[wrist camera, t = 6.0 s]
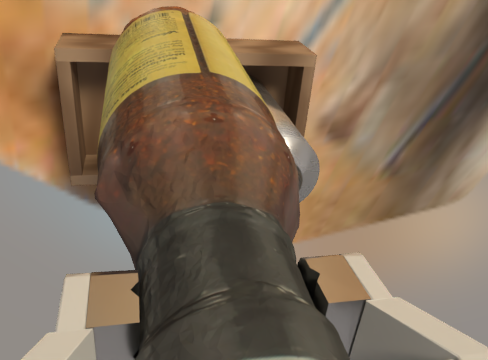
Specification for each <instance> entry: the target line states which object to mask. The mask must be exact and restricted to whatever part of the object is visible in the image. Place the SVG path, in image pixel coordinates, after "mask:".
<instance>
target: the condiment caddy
mask: <svg viewBox="0 0 488 360" xmlns="http://www.w3.org/2000/svg"><path fill="white" fill-rule="evenodd" d="M120 36H121V35H103V34H73V33H62V35H61V37H60V39H59V40H58V42H57V44H56V46H55V47H54V50H55V58H56V67H57V75H58V83H59V91H60V99H61V107H62V115H63V123H64V131H65V139H66V147H67V155H68V163H69V171H70V179H71V186H77V185H97V181H98V168H97V150H98V141H99V134H100V126H101V118H102V111H103V104H104V97H105V88H106V83H107V76H108V67H109V62H110V57H111V53H112V50H113V47H114V46H115V44H116V42H117V40H118V39H119V37H120ZM226 40H227V42H228V43H229V45H230V46H231V48H232V50H233V51H234V53H235V54H236V56H237V57H238V59H239V61H240V63H241V64H242V66H243V68H244V69H245V71H246V73H247V74H248V76H252V77H254V78H256V79H257V80H259V81H260V82H261V83H262V84H263V85H264V86H265V88H266V89H267V90H268V92H269V93H270V94H271V96H272V97H273V98H274V99H275V101H276V102H277V103H278V105H279V106H280V107H281V109H282V110H283V111H284V112H285V114H286V115H287V116H288V118H289V119H290V120H291V122H292V123H293V124H294V125H295V127H296V128H297V129H298V131H299V132H300V133H301V135H302V136H303V137H304V133H305V127H306V121H307V114H308V108H309V102H310V95H311V89H312V83H313V76H314V70H315V64H316V57H317V55H316V54H315V53H313V52H312V51H311V50H309V49H308V48H307V47H306V46H304V45H303V44H302V43H300V42H299V41H278V40H249V39H226Z"/></svg>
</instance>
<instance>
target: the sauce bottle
mask: <svg viewBox="0 0 488 360" xmlns="http://www.w3.org/2000/svg"><path fill="white" fill-rule="evenodd" d="M97 168H98V181H97V188H96V191H95V193H94V194H95V199H96V200H97V202H98V203H99V204H100V205H101V206H102V208H103V209H104V210H105V212H106V213H107V214H108V216H109V217H110V218H111V220H112V222H113V224H114V225H115V227H116V229H117V231H118V233H119V235H120V236H121V238H122V240H123V242H124V244H125V245H126V247H127V249H128V251H129V253H130V255H131V258H132V261H133V264H134V267H135V270H138V283H139V311H140V347H139V354H138V355H137V357H136V358H135V360H350V358H349V356H348V353H347V351H346V349H345V347H344V345H343V342H342V341H341V338H340V336H339V333H338V331H337V330H336V328H335V326H334V325H333V324H332V323H331V322H330V321H329V320H328V319H327V318H326V317H325V316H324V315H323V314H322V313H320V312H319V311H318V310H317V309H316V308H315V306H314V304H313V301H312V299H311V297H310V295H309V292H308V290H307V287H306V285H305V283H304V280H303V278H302V275H301V272H300V270H299V268H298V266H297V264H296V255H295V251H294V246H293V244H292V241H293V239H294V237H295V234H296V231H297V229H298V228H299V217H300V207H299V179H298V171H297V167H296V165H295V161H294V158H293V156H292V154H291V152H290V149H289V147H288V146H287V144H286V141H285V139H284V138H283V136H282V135H281V133H280V132H279V130H278V129H277V125H276V123H275V120H274V117H273V115H272V113H271V111H270V110H269V108H268V107H267V105H266V103H265V102H264V100H263V98H262V97H261V95H260V94H259V92H258V91H257V89H256V87H255V86H254V84H253V82H252V81H251V79H250V78H249V76H248V74H247V73H246V71H245V69H244V68H243V66H242V64H241V63H240V61H239V59H238V57H237V56H236V54H235V53H234V51H233V50H232V48H231V46H230V45H229V43H228V42H227V40H226V38H225V37H224V36H223V34H222V33H221V32H220V31H219V30H218V29H217V28H216V27H215V26H214V25H213V24H212V23H210V22H209V21H207V20H206V19H204V18H203V17H201V16H199V15H197V14H195V13H194V12H190V11H188V10H186V9H184V8H181V7H160V8H157V9H152V10H151V11H149V12H147V13H144V14H143V15H139V16H138V17H137V18H134V19H133V20H131V21H130V23H128V24H127V25H126V26H125V28H124V31H123V32H122V34H121V36H120V37H119V39H118V40H117V42H116V44H115V46H114V47H113V50H112V53H111V57H110V62H109V67H108V76H107V83H106V88H105V97H104V104H103V111H102V118H101V126H100V134H99V141H98V150H97Z"/></svg>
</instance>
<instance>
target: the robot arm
mask: <svg viewBox="0 0 488 360" xmlns="http://www.w3.org/2000/svg"><path fill="white" fill-rule="evenodd" d="M297 266H298V268H299V270H300V272H301V275H302V278H303V280H304V283H305V285H306V287H307V290H308V292H309V295H310V297H311V299H312V301H313V304H314V306H315V308H316V309H317V310H318V311H319V312H320V313H322V314H323V315H324V316H325V317H326V318H327V319H328V320H329V321H330V322H331V323H332V324H333V325H334V326H335V328H336V330H337V331H338V333H339V336H340V338H341V341H342V342H343V345H344V347H345V349H346V351H347V353H348V356H349V358H350V360H488V347H486V346H484V345H483V344H481V343H479V342H477V341H476V340H474V339H472V338H470V337H469V336H467V335H465V334H463V333H461V332H459V331H458V330H456V329H454V328H453V327H451V326H449V325H447V324H446V323H444V322H442V321H440V320H438V319H437V318H435V317H433V316H431V315H430V314H428V313H426V312H424V311H422V310H421V309H419V308H417V307H415V306H413V305H412V304H410V303H408V302H406V301H405V300H403V299H401V298H399V297H394V298H393V297H392V295H391V294H390V293H389V291H388V290H387V288H386V287H385V285H384V284H383V283H382V281H381V280H380V278H379V277H378V276H377V274H376V273H375V272H374V270H373V269H372V267H371V266H370V264H369V263H368V262H367V261H366V259H365V258H364V256H363V255H362V254H360V253H358V252H357V253H347V254H339V255H329V256H318V257H305V258H300V260H299V262H298V265H297ZM139 347H140V311H139V283H138V270H128V271H109V272H92V273H78V274H66V276H65V278H64V282H63V288H62V294H61V300H60V306H59V311H58V317H57V323H56V329H55V332H52V333H47V334H46V335H45V336H44V337H43V338H42V339H41V340H40V341H39V342H38V343H37V344H36V345H35V346H34V347H33V348H32V349H31V350H30V351H29V352H28V353H27V354H26V355H25V356H24V357H23V358H22V359H21V360H135V358H136V357H137V355H138V354H139Z"/></svg>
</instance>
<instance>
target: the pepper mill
mask: <svg viewBox="0 0 488 360" xmlns="http://www.w3.org/2000/svg"><path fill="white" fill-rule="evenodd" d="M249 78H250V79H251V81H252V82H253V84H254V86H255V87H256V89H257V91H258V92H259V94H260V95H261V97H262V98H263V100H264V102H265V103H266V105H267V107H268V108H269V110H270V111H271V113H272V115H273V117H274V120H275V123H276V125H277V129H278V130H279V132H280V133H281V135H282V136H283V138H284V139H285V141H286V144H287V146H288V147H289V149H290V152H291V154H292V156H293V158H294V161H295V165H296V167H297V171H298V179H299V203H300V202H301V201H302V200H304V199H305V198H306V197H307V196H308V195H309V194H310V192H311V191H312V190H313V188H314V186H315V185H316V182H317V180H318V176H319V160H318V158H317V155H316V153H315V152H314V150H313V149H312V148H311V146H310V145H309V144H308V142H307V141H306V140H305V138H304V137H303V136H302V135H301V133H300V132H299V131H298V129H297V128H296V127H295V125H294V124H293V123H292V122H291V120H290V119H289V118H288V116H287V115H286V114H285V112H284V111H283V110H282V109H281V107H280V106H279V105H278V103H277V102H276V101H275V99H274V98H273V97H272V96H271V94H270V93H269V92H268V90H267V89H266V88H265V86H264V85H263V84H262V83H261V82H260V81H259V80H257V79H256V78H254V77H252V76H249Z"/></svg>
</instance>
